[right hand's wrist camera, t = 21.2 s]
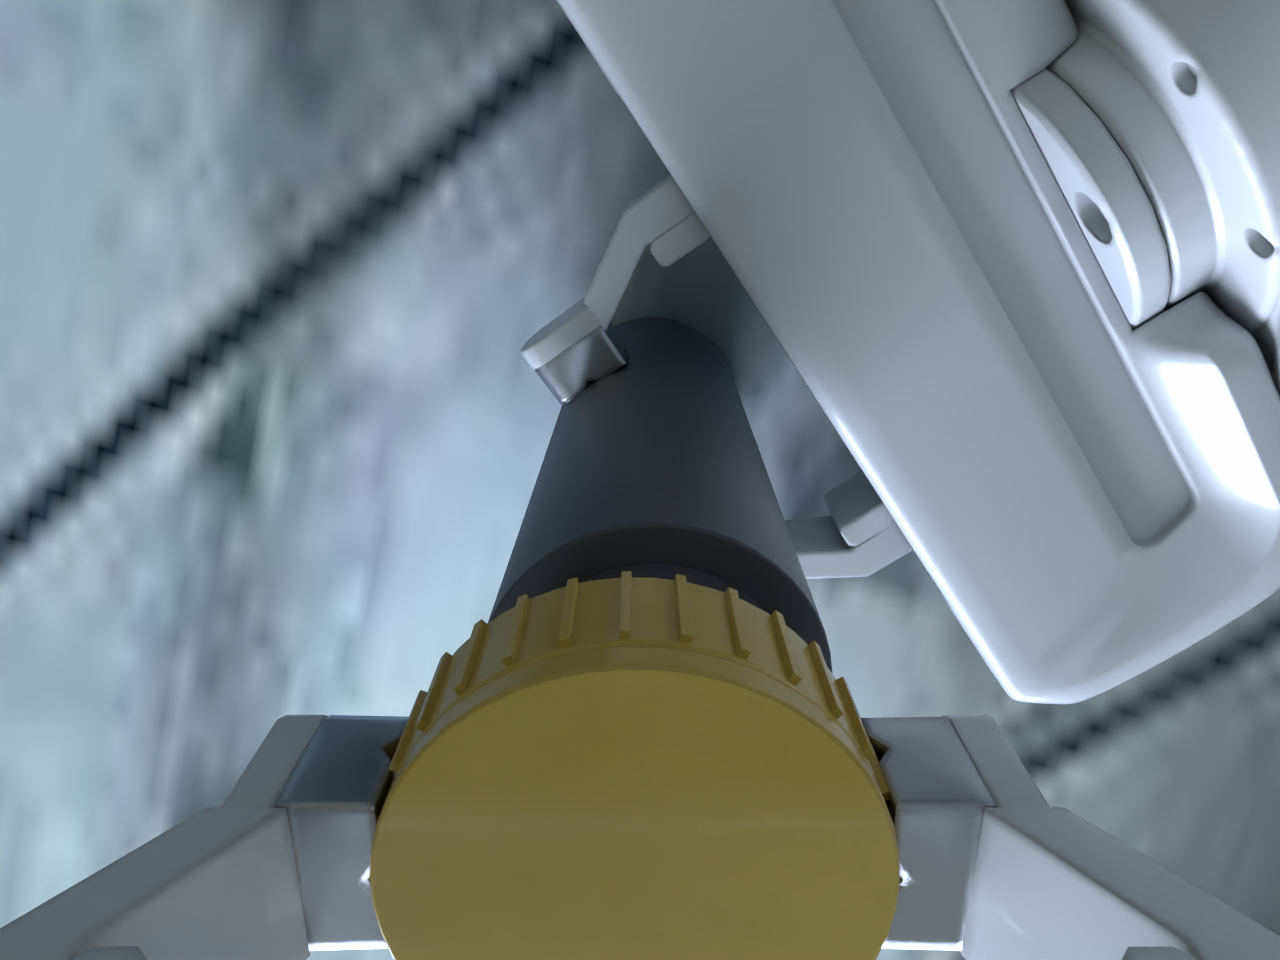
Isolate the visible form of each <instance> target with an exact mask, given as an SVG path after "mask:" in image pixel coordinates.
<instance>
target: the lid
mask: <svg viewBox="0 0 1280 960" xmlns="http://www.w3.org/2000/svg"><path fill="white" fill-rule="evenodd" d="M389 770H391V771H393V774H394V779H393V782H392V785H391V787H390V790H389V792H388V795H387V798H386V800H385V803H384V805H383V808H382V811H381V813H380V816H379V818H378V821H377V825H376V829H375V834H374V838H373V843H372V847H371V861H370V883H371V892H372V900H373V907H374V910H375V914H376V917H377V921H378V924H379V927H380V931H381V934H382V936H383V938H384V940H385V942H386V944H387V946H388V949H389V951H390V953H391V955H392V957H393V959H394V960H876V958H877V956H878V954H879V952H880V950H881V948H882V946H883V944H884V942H885V940H886V938H887V936H888V933H889V929H890V926H891V923H892V920H893V917H894V913H895V910H896V905H897V898H898V891H899V883H900V861H899V848H898V843H897V838H896V833H895V828H894V824H893V821H892V819H891V816H890V813H889V811H888V808H887V806H886V803H885V801H887V800H889V789H888V786H887V784H886V781H885V779H884V776H883V774H882V771H881V768H880V766H879V762H878V759H877V757H876V754H875V752H874V749H873V747H872V744H871V742H870V739H869V737H868V735H867V732H866V730H865V727H864V724H863V722H862V719H861V717H860V716H859V713H858V711H857V708H856V706H855V703H854V700H853V698H852V695H851V693H850V690H849V688H848V685H847V683H846V681H845V679H844V678H843V677H841V678H839V679H837V680H836V679H835V677H834V676H833V674H832V672H831V671H830V670H829V668H828V667H827V665H826V662H825V659H824V657H823V654H822V651H821V648H820V646H819V645H818V644H817V643H816V642H815V641H812V642H811V643H810V644H807V643H806V642H805V641H804V640H803V639H802V638H801V637H799V636H798V635H797V634H796V633H795V632H794V631H793V630H791V629H790V628H789V627H787V626H786V623H785V620H784V617H783V615H782V614H781V613H779V612H778V611H776V610H775V611H774V612H773V613H772V614H771V615H770V614H769V613H767V612H765V611H763V610H761V609H759V608H757V607H756V606H754V605H752V604H750V603H748V602H746V601H744V600H742V599H740V598H739V596H738V591H737V590H734V589H732V588H729V587H728V589H727V591H726V593H724V592H722V591H719V590H716V589H713V588H709V587H705V586H701V585H697V584H693V583H689V582H687V581H686V576H685V575H679V574H676V576H675V580H670V579H662V578H654V577H632V572H631V571H622V572H621V577H618V578H609V579H600V580H591V581H586V582H581V583H579V581H578V578H577V577H576V578H572V579H568V580H567V586H565V587H561V588H558V589H555V590H553V591H550V592H547V593H544V594H542V595H539V596H536V597H534V598H531V599H529V597H528V596H527V594H524V595H522V596H520V597H518V598H517V602H516V606H515V607H513V608H511V609H510V610H508V611H506V612H504V613H502V614H501V615H499V616H498V617H496V618H495V619H493V620H492V621H491V622H489V623H488V624H486V623H485V622H484V621H483V620H480V621H479V622H477V623H476V624H475V625H474V628H473V631H472V634H471V637H470V638H469V639H468V640H467V641H466V642H465V643H464V644H463V645H462V646H461V647H460V648H458V649H457V651H456V652H455V653H454V654H453V656H452V655H450V654H449V653H447V652H446V653H445V654H444V655H443V656H442V657H441V659H440V661H439V664H438V667H437V669H436V672H435V675H434V677H433V680H432V682H431V685H430V688H429V690H428V692H424V691H422V690H420V692H419V694H418V696H417V699H416V701H415V704H414V706H413V709H412V711H411V714H410V716H409V719H408V721H407V724H406V726H405V729H404V731H403V734H402V736H401V739H400V741H399V744H398V746H397V749H396V751H395V754H394V756H393V759H392V761H391V764H390V766H389Z"/></svg>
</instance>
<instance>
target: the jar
mask: <svg viewBox="0 0 1280 960" xmlns="http://www.w3.org/2000/svg"><path fill="white" fill-rule="evenodd" d="M615 328H616V330H617V331H618V333H619V334H620V336H621V337H622V339H623V340H624V342H625V343H626V345H627V353H625V354H626V363H625V364H624V365H623V366H621V367H620V368H618V369H617V370H615V371H614V372H612V373H611V374H610V375H608V376H607V377H605V378H602V379H600V380H599V381H587V384H586V387H585V389H584V391H583V392H582V393H580V394H579V395H578V396H577V397H576V398H574V399H573V400H571V401H569V402H567V403H565V404H563V405H562V408H561V410H560V413H559V416H558V419H557V422H556V425H555V428H554V431H553V434H552V437H551V440H550V443H549V446H548V449H547V451H546V454H545V457H544V460H543V463H542V466H541V469H540V472H539V475H538V478H537V481H536V484H535V487H534V490H533V492H532V495H531V498H530V501H529V504H528V507H527V510H526V513H525V516H524V519H523V522H522V525H521V528H520V531H519V533H518V536H517V539H516V542H515V545H514V548H513V551H512V554H511V557H510V560H509V563H508V566H507V569H506V572H505V574H504V577H503V580H502V583H501V586H500V589H499V592H498V595H497V598H496V601H495V604H494V607H493V610H492V612H491V615H490V618H489V621H488V623H489V622H491V621H492V620H493V619H495V618H496V617H498V616H499V615H501V614H502V613H504V612H506V611H508V610H510V609H511V608H513V607H515V606H516V602H517V598H518V597H520V596H522V595H524V594H527V596H528V597H529V599H531V598H534V597H536V596H539V595H542V594H544V593H547V592H550V591H553V590H555V589H558V588H561V587H565V586H567V580H568V579H572V578H576V577H577V578H578V581H579V583H581V582H586V581H591V580H600V579H609V578H618V577H621V572H622V571H631V572H632V577H654V578H662V579H670V580H675V576H676V574H679V575H685V576H686V581H687V582H689V583H693V584H697V585H701V586H705V587H709V588H713V589H716V590H719V591H722V592H724V593H726V591H727V589H728V587H729V588H732V589H734V590H737V591H738V596H739V598H740V599H742V600H744V601H746V602H748V603H750V604H752V605H754V606H756V607H757V608H759V609H761V610H763V611H765V612H767V613H769V614H770V615H771V614H772V613H773V612H774V611H775V610H776V611H778V612H779V613H781V614H782V615H783V617H784V620H785V623H786V626H787V627H789V628H790V629H791V630H793V631H794V632H795V633H796V634H797V635H798V636H799V637H801V638H802V639H803V640H804V641H805V642H806V643H807V644H810V643H811V642H812V641H815V642H816V643H817V644H818V645H819V646H820V648H821V651H822V654H823V657H824V659H825V662H826V665H827V667H828V668H829V670H830V671H831V672H832V665H831V655H830V649H829V645H828V642H827V638H826V634H825V631H824V628H823V625H822V622H821V620H820V617H819V614H818V611H817V609H816V606H815V603H814V600H813V598H812V595H811V592H810V589H809V587H808V584H807V581H806V578H805V576H804V573H803V570H802V567H801V565H800V562H799V559H798V556H797V554H796V551H795V548H794V545H793V543H792V540H791V537H790V534H789V532H788V529H787V526H786V523H785V521H784V518H783V515H782V512H781V510H780V507H779V504H778V501H777V499H776V496H775V493H774V490H773V488H772V485H771V482H770V479H769V477H768V474H767V471H766V468H765V466H764V463H763V460H762V457H761V455H760V452H759V449H758V446H757V444H756V441H755V438H754V435H753V433H752V430H751V427H750V424H749V422H748V419H747V416H746V413H745V411H744V408H743V405H742V402H741V400H740V397H739V394H738V391H737V389H736V386H735V383H734V380H733V378H732V375H731V372H730V370H729V368H728V365H727V363H726V361H725V359H724V358H723V356H722V354H721V353H720V352H719V350H718V349H717V348H716V347H715V345H714V344H713V343H712V342H711V341H710V340H709V339H708V338H706V337H705V336H704V335H702V334H701V333H700V332H698V331H697V330H695V329H693V328H691V327H689V326H687V325H685V324H682V323H680V322H677V321H673V320H669V319H662V318H642V319H636V320H631V321H628V322H624V323H622V324H619V325H617V326H615Z"/></svg>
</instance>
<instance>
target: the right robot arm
mask: <svg viewBox="0 0 1280 960" xmlns="http://www.w3.org/2000/svg"><path fill="white" fill-rule="evenodd" d="M408 719H409V717H395V716H347V715H330V716H326V715H286V716H284V717H281V718H279V719H278V720H277V721H276V722H275V724H274V725H273V727H272V728H271V730H270V731H269V733H268V734H267V736H266V737H265V739H264V741H263V742H262V744H261V745H260V747H259V748H258V750H257V751H256V753H255V755H254V756H253V758H252V759H251V761H250V762H249V764H248V765H247V767H246V768H245V770H244V772H243V773H242V775H241V776H240V778H239V779H238V781H237V782H236V784H235V785H234V787H233V789H232V790H231V792H230V793H229V795H228V796H227V798H226V799H225V801H224V802H223V804H222V806H221V807H220V808H205V809H204V810H202V811H200V812H198V813H197V814H195V815H193V816H192V817H190V818H188V819H187V820H185V821H183V822H181V823H180V824H178V825H176V826H175V827H173V828H171V829H169V830H168V831H166V832H164V833H163V834H161V835H159V836H157V837H156V838H154V839H152V840H151V841H149V842H147V843H146V844H144V845H142V846H140V847H139V848H137V849H135V850H134V851H132V852H130V853H128V854H127V855H125V856H123V857H122V858H120V859H118V860H116V861H115V862H113V863H111V864H110V865H108V866H106V867H105V868H103V869H101V870H99V871H98V872H96V873H94V874H93V875H91V876H89V877H87V878H86V879H84V880H82V881H81V882H79V883H77V884H75V885H74V886H72V887H70V888H69V889H67V890H65V891H64V892H62V893H60V894H58V895H57V896H55V897H53V898H52V899H50V900H48V901H46V902H45V903H43V904H41V905H40V906H38V907H36V908H34V909H33V910H31V911H29V912H28V913H26V914H24V915H23V916H21V917H19V918H17V919H16V920H14V921H12V922H11V923H9V924H7V925H5V926H4V927H2V928H0V960H306V959H307V958H308V957H309V956H310V952H309V951H313V950H347V949H381V948H388V946H387V944H386V942H385V940H384V938H383V936H382V934H381V931H380V927H379V924H378V921H377V917H376V914H375V910H374V907H373V900H372V892H371V883H370V861H371V847H372V843H373V838H374V834H375V829H376V825H377V821H378V818H379V816H380V813H381V811H382V808H383V805H384V803H385V800H386V798H387V795H388V792H389V790H390V787H391V785H392V782H393V779H394V774H393V771H391V770H389V766H390V764H391V761H392V759H393V756H394V754H395V751H396V749H397V746H398V744H399V741H400V739H401V736H402V734H403V731H404V729H405V726H406V724H407V721H408ZM861 719H862V722H863V724H864V727H865V730H866V732H867V735H868V737H869V739H870V742H871V744H872V747H873V749H874V752H875V754H876V757H877V759H878V762H879V766H880V768H881V771H882V774H883V776H884V779H885V781H886V784H887V786H888V789H889V800H887V801H885V803H886V806H887V808H888V811H889V813H890V816H891V819H892V821H893V824H894V828H895V833H896V838H897V843H898V848H899V861H900V883H899V891H898V898H897V905H896V910H895V913H894V917H893V920H892V923H891V926H890V929H889V933H888V936H887V938H886V940H885V942H884V944H883V946H882V948H887V949H923V950H958V951H961V955H962V956H963V957H964V958H965V959H966V960H1280V936H1279V935H1278V934H1276V933H1274V932H1273V931H1271V930H1269V929H1268V928H1266V927H1264V926H1263V925H1261V924H1259V923H1257V922H1256V921H1254V920H1252V919H1251V918H1249V917H1247V916H1246V915H1244V914H1242V913H1241V912H1239V911H1237V910H1236V909H1234V908H1232V907H1230V906H1229V905H1227V904H1225V903H1224V902H1222V901H1220V900H1219V899H1217V898H1215V897H1214V896H1212V895H1210V894H1209V893H1207V892H1205V891H1204V890H1202V889H1200V888H1198V887H1197V886H1195V885H1193V884H1192V883H1190V882H1188V881H1187V880H1185V879H1183V878H1182V877H1180V876H1178V875H1177V874H1175V873H1173V872H1171V871H1170V870H1168V869H1166V868H1165V867H1163V866H1161V865H1160V864H1158V863H1156V862H1155V861H1153V860H1151V859H1150V858H1148V857H1146V856H1144V855H1143V854H1141V853H1139V852H1138V851H1136V850H1134V849H1133V848H1131V847H1129V846H1128V845H1126V844H1124V843H1123V842H1121V841H1119V840H1118V839H1116V838H1114V837H1112V836H1111V835H1109V834H1107V833H1106V832H1104V831H1102V830H1101V829H1099V828H1097V827H1096V826H1094V825H1092V824H1091V823H1089V822H1087V821H1085V820H1084V819H1082V818H1080V817H1079V816H1077V815H1075V814H1074V813H1072V812H1070V811H1069V810H1067V809H1065V808H1050V806H1049V805H1048V803H1047V802H1046V800H1045V798H1044V797H1043V795H1042V794H1041V792H1040V791H1039V789H1038V787H1037V786H1036V784H1035V783H1034V781H1033V780H1032V778H1031V776H1030V775H1029V773H1028V772H1027V770H1026V769H1025V767H1024V766H1023V764H1022V762H1021V761H1020V759H1019V758H1018V756H1017V755H1016V753H1015V751H1014V750H1013V748H1012V747H1011V745H1010V744H1009V742H1008V740H1007V739H1006V737H1005V736H1004V734H1003V733H1002V731H1001V730H1000V728H999V726H998V725H997V723H996V722H995V720H994V719H993V718H991V717H990V716H988V715H986V714H982V715H952V716H943V717H893V718H861Z"/></svg>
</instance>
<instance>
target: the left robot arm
mask: <svg viewBox="0 0 1280 960" xmlns="http://www.w3.org/2000/svg"><path fill="white" fill-rule="evenodd" d="M557 1H558V3H559V5H560V6H561V8H562V9H563V11H564V12H565V14H566V15H567V17H568V18H569V20H570V22H571V23H572V25H573V26H574V28H575V29H576V31H577V32H578V34H579V35H580V37H581V39H582V40H583V42H584V43H585V45H586V46H587V48H588V49H589V51H590V52H591V54H592V56H593V57H594V59H595V60H596V62H597V63H598V65H599V66H600V68H601V70H602V71H603V73H604V74H605V76H606V77H607V79H608V80H609V82H610V83H611V85H612V87H613V88H614V90H615V91H616V93H617V94H618V96H619V97H620V98H621V99H622V101H623V102H624V104H625V105H626V107H627V108H628V110H629V111H630V113H631V114H632V116H633V118H634V119H635V121H636V122H637V124H638V125H639V127H640V128H641V130H642V131H643V133H644V135H645V136H646V138H647V139H648V141H649V142H650V144H651V145H652V147H653V148H654V150H655V152H656V153H657V155H658V156H659V158H660V159H661V161H662V162H663V164H664V165H665V167H666V169H667V170H668V172H669V173H670V174H669V175H667V176H666V177H665V178H663V179H662V180H661V181H659V182H658V183H656V184H655V185H654V186H652V187H651V188H650V189H648V190H647V191H646V192H644V193H643V194H642V195H640V196H639V197H637V198H636V199H635V200H633V201H632V202H631V203H629V204H628V205H627V206H625V208H624V210H623V213H622V215H621V217H620V219H619V222H618V224H617V226H616V228H615V230H614V233H613V235H612V237H611V239H610V242H609V244H608V246H607V248H606V250H605V253H604V255H603V257H602V259H601V261H600V264H599V266H598V268H597V270H596V273H595V275H594V277H593V279H592V281H591V284H590V286H589V288H588V290H587V293H586V295H585V298H584V299H582V300H581V301H580V302H578V303H577V304H575V305H574V306H572V307H571V308H570V309H568V310H567V311H565V312H564V313H563V314H561V315H560V316H558V317H557V318H556V319H554V320H553V321H551V322H550V323H549V324H547V325H546V326H544V327H543V328H542V329H540V330H539V331H538V332H537V333H536V334H535V335H533V336H532V337H531V338H530V339H529V340H528V341H526V343H525V344H524V346H523V348H522V349H521V353H522V354H523V356H524V357H525V359H526V360H527V362H528V363H529V364H530V366H531V367H532V369H534V370H535V372H536V373H537V374H538V376H539V377H540V378H541V379H542V381H543V382H544V383H545V385H546V386H547V387H548V388H549V390H550V391H551V392H552V394H553V395H554V396H555V398H556V399H557V400H558V401H559V403H560V404H565V403H567V402H569V401H571V400H573V399H574V398H576V397H577V396H578V395H579V394H580V393H582V392H583V391H584V389H585V387H586V384H587V381H599V380H600V379H602V378H605V377H607V376H608V375H610V374H611V373H612V372H614V371H615V370H617V369H618V368H620V367H621V366H623V365H624V364H625V363H626V354H625V353H627V345H626V343H625V342H624V340H623V339H622V337H621V336H620V334H619V333H618V331H617V330H616V328H615V327H614V325H613V324H612V322H611V319H612V317H613V315H614V312H615V310H616V308H617V306H618V304H619V302H620V300H621V297H622V295H623V293H624V291H625V289H626V287H627V285H628V282H629V280H630V278H631V276H632V274H633V272H634V270H635V267H636V265H637V263H638V261H639V259H640V257H641V255H642V252H643V250H644V248H645V246H647V245H649V244H650V250H651V253H652V254H653V255H654V257H655V258H656V260H657V261H658V263H659V264H660V265H661V266H667V267H668V266H670V265H671V264H673V263H674V262H675V261H677V260H678V259H680V258H681V257H683V256H684V255H686V254H687V253H689V252H690V251H692V250H693V249H695V248H696V247H698V246H699V245H701V244H702V243H703V242H705V241H706V240H708V239H709V238H712V240H713V241H714V243H715V244H716V246H717V247H718V249H719V250H720V252H721V254H722V255H723V257H724V258H725V260H726V261H727V263H728V264H729V266H730V267H731V269H732V271H733V272H734V274H735V275H736V277H737V278H738V280H739V281H740V283H741V284H742V286H743V288H744V289H745V291H746V292H747V294H748V295H749V297H750V298H751V300H752V301H753V303H754V305H755V306H756V308H757V309H758V311H759V312H760V314H761V315H762V317H763V318H764V320H765V322H766V323H767V325H768V326H769V328H770V329H771V331H772V332H773V334H774V335H775V337H776V339H777V340H778V342H779V343H780V345H781V346H782V348H783V349H784V351H785V352H786V354H787V356H788V357H789V359H790V360H791V362H792V363H793V365H794V366H795V368H796V369H797V371H798V373H799V374H800V376H801V377H802V379H803V380H804V382H805V383H806V385H807V386H808V388H809V390H810V391H811V393H812V394H813V396H814V397H815V399H816V400H817V402H818V403H819V405H820V406H821V408H822V410H823V411H824V413H825V414H826V416H827V417H828V419H829V420H830V422H831V423H832V425H833V427H834V428H835V430H836V431H837V433H838V434H839V436H840V437H841V439H842V440H843V442H844V444H845V445H846V447H847V448H848V450H849V451H850V453H851V454H852V456H853V457H854V459H855V461H856V462H857V464H858V465H859V467H860V468H861V470H862V471H860V472H859V473H857V474H856V475H854V476H853V477H851V478H849V479H848V480H846V481H845V482H843V483H842V484H840V485H838V486H837V487H835V488H834V489H832V490H831V491H829V492H827V493H826V494H825V497H824V501H825V503H826V505H827V507H828V509H829V511H830V513H831V515H832V516H822V517H812V518H802V519H793V520H784V521H785V523H786V526H787V529H788V532H789V534H790V537H791V540H792V543H793V545H794V548H795V551H796V554H797V556H798V559H799V562H800V565H801V567H802V570H803V573H804V576H805V578H806V579H812V578H838V577H865V576H869V575H871V574H873V573H874V572H876V571H878V570H879V569H881V568H883V567H885V566H886V565H888V564H890V563H892V562H893V561H895V560H897V559H898V558H900V557H902V556H904V555H905V554H907V553H909V552H910V551H912V550H914V552H915V553H916V555H917V556H918V558H919V559H920V561H921V563H922V564H923V566H924V567H925V569H926V570H927V572H928V574H929V575H930V577H931V578H932V580H933V582H934V583H935V585H936V587H937V588H938V590H939V592H940V593H941V595H942V596H943V598H944V599H945V601H946V602H947V604H948V605H949V607H950V609H951V610H952V612H953V613H954V615H955V616H956V618H957V619H958V621H959V622H960V624H961V625H962V627H963V629H964V630H965V632H966V633H967V635H968V636H969V638H970V639H971V641H972V642H973V644H974V646H975V647H976V649H977V650H978V652H979V653H980V655H981V656H982V658H983V659H984V661H985V662H986V664H987V666H988V667H989V669H990V670H991V671H992V673H993V674H994V676H995V677H996V679H997V680H998V681H999V683H1000V684H1001V686H1002V687H1003V689H1004V690H1005V691H1006V693H1007V694H1008V695H1009V696H1010V697H1011V698H1012V699H1014V700H1017V701H1022V702H1030V703H1045V704H1071V703H1076V702H1080V701H1083V700H1086V699H1088V698H1091V697H1093V696H1096V695H1098V694H1101V693H1103V692H1105V691H1107V690H1109V689H1111V688H1113V687H1115V686H1117V685H1119V684H1121V683H1123V682H1125V681H1127V680H1129V679H1131V678H1133V677H1135V676H1137V675H1139V674H1141V673H1143V672H1145V671H1146V670H1148V669H1150V668H1152V667H1154V666H1156V665H1157V664H1159V663H1161V662H1163V661H1165V660H1167V659H1168V658H1170V657H1172V656H1174V655H1176V654H1177V653H1179V652H1181V651H1183V650H1184V649H1186V648H1188V647H1189V646H1191V645H1193V644H1195V643H1196V642H1198V641H1200V640H1202V639H1203V638H1205V637H1207V636H1208V635H1210V634H1212V633H1213V632H1215V631H1217V630H1218V629H1220V628H1221V627H1223V626H1225V625H1226V624H1228V623H1230V622H1231V621H1233V620H1234V619H1236V618H1238V617H1239V616H1241V615H1243V614H1244V613H1246V612H1247V611H1249V610H1250V609H1252V608H1253V607H1255V606H1256V605H1258V604H1259V603H1261V602H1262V601H1263V600H1265V599H1266V598H1267V597H1269V596H1270V595H1271V594H1273V593H1274V592H1275V591H1276V590H1277V589H1279V588H1280V0H557Z"/></svg>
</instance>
